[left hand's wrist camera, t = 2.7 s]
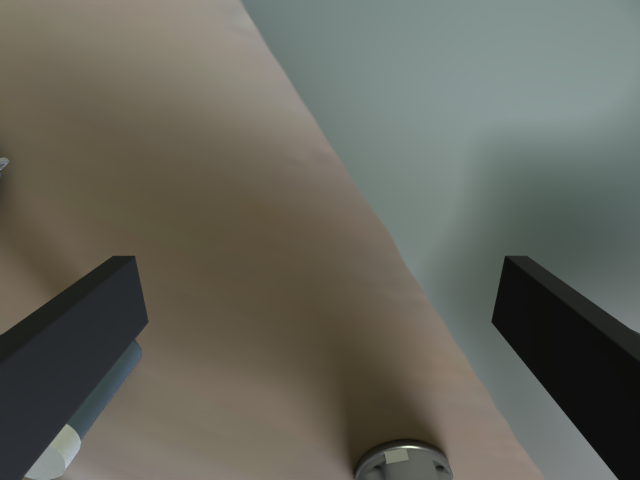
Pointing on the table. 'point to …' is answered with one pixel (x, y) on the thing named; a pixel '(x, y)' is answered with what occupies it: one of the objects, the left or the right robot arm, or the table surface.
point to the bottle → (105, 391)
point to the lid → (56, 455)
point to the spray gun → (3, 163)
